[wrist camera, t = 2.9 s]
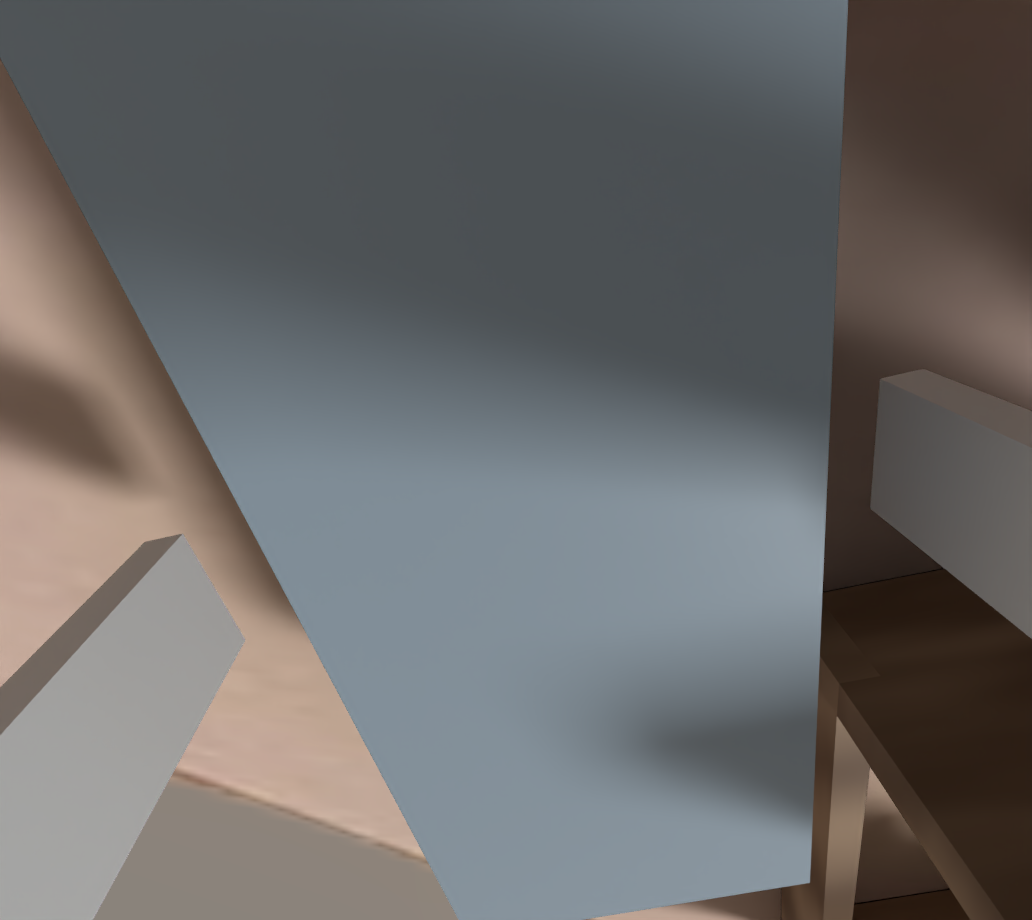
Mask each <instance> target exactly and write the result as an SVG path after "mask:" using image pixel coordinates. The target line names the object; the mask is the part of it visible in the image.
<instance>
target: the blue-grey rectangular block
mask: <svg viewBox="0 0 1032 920" xmlns="http://www.w3.org/2000/svg"><path fill="white" fill-rule="evenodd" d="M847 16H848V0H0V59H1V61H2V62H3V64H4V66H5V68H6V70H7V72H8V74H9V76H10V78H11V79H12V81H13V83H14V85H15V87H16V89H17V91H18V93H19V94H20V96H21V98H22V100H23V102H24V104H25V106H26V108H27V109H28V111H29V113H30V115H31V117H32V119H33V121H34V123H35V124H36V126H37V128H38V130H39V132H40V134H41V136H42V138H43V140H44V141H45V143H46V145H47V147H48V149H49V151H50V153H51V155H52V156H53V158H54V160H55V162H56V164H57V166H58V168H59V170H60V171H61V173H62V175H63V177H64V179H65V181H66V183H67V185H68V187H69V188H70V190H71V192H72V194H73V196H74V198H75V200H76V202H77V203H78V205H79V207H80V209H81V211H82V213H83V215H84V217H85V218H86V220H87V222H88V224H89V226H90V228H91V230H92V232H93V233H94V235H95V237H96V239H97V241H98V243H99V245H100V247H101V249H102V250H103V252H104V254H105V256H106V258H107V260H108V262H109V264H110V265H111V267H112V269H113V271H114V273H115V275H116V277H117V279H118V280H119V282H120V284H121V286H122V288H123V290H124V292H125V294H126V296H127V297H128V299H129V301H130V303H131V305H132V307H133V309H134V311H135V312H136V314H137V316H138V318H139V320H140V322H141V324H142V326H143V327H144V329H145V331H146V333H147V335H148V337H149V339H150V341H151V342H152V344H153V346H154V348H155V350H156V352H157V354H158V356H159V358H160V359H161V361H162V363H163V365H164V367H165V369H166V371H167V373H168V374H169V376H170V378H171V380H172V382H173V384H174V386H175V388H176V389H177V391H178V393H179V395H180V397H181V399H182V401H183V403H184V405H185V406H186V408H187V410H188V412H189V414H190V416H191V418H192V420H193V421H194V423H195V425H196V427H197V429H198V431H199V433H200V435H201V436H202V438H203V440H204V442H205V444H206V446H207V448H208V450H209V451H210V453H211V455H212V457H213V459H214V461H215V463H216V465H217V467H218V468H219V470H220V472H221V474H222V476H223V478H224V480H225V482H226V483H227V485H228V487H229V489H230V491H231V493H232V495H233V497H234V498H235V500H236V502H237V504H238V506H239V508H240V510H241V512H242V514H243V515H244V517H245V519H246V521H247V523H248V525H249V527H250V529H251V530H252V532H253V534H254V536H255V538H256V540H257V542H258V544H259V545H260V547H261V549H262V551H263V553H264V555H265V557H266V559H267V560H268V562H269V564H270V566H271V568H272V570H273V572H274V574H275V576H276V577H277V579H278V581H279V583H280V585H281V587H282V589H283V591H284V592H285V594H286V596H287V598H288V600H289V602H290V604H291V606H292V607H293V609H294V611H295V613H296V615H297V617H298V619H299V621H300V622H301V624H302V626H303V628H304V630H305V632H306V634H307V636H308V638H309V639H310V641H311V643H312V645H313V647H314V649H315V651H316V653H317V654H318V656H319V658H320V660H321V662H322V664H323V666H324V668H325V669H326V671H327V673H328V675H329V677H330V679H331V681H332V683H333V685H334V686H335V688H336V690H337V692H338V694H339V696H340V698H341V700H342V701H343V703H344V705H345V707H346V709H347V711H348V713H349V715H350V716H351V718H352V720H353V722H354V724H355V726H356V728H357V730H358V731H359V733H360V735H361V737H362V739H363V741H364V743H365V745H366V747H367V748H368V750H369V752H370V754H371V756H372V758H373V760H374V762H375V763H376V765H377V767H378V769H379V771H380V773H381V775H382V777H383V778H384V780H385V782H386V784H387V786H388V788H389V790H390V792H391V794H392V795H393V797H394V799H395V801H396V803H397V805H398V807H399V809H400V810H401V812H402V814H403V816H404V818H405V820H406V822H407V824H408V825H409V827H410V829H411V831H412V833H413V835H414V837H415V839H416V840H417V842H418V844H419V846H420V848H421V850H422V852H423V854H424V856H425V857H426V859H427V861H428V863H429V865H430V867H431V869H432V871H433V872H434V874H435V876H436V878H437V880H438V882H439V884H440V886H441V887H442V889H443V891H444V893H445V895H446V897H447V899H448V901H449V902H450V904H451V906H452V908H453V910H454V912H455V914H456V915H457V918H458V919H459V920H583V919H590V918H596V917H602V916H608V915H614V914H620V913H627V912H633V911H639V910H645V909H651V908H657V907H664V906H670V905H676V904H682V903H688V902H695V901H701V900H707V899H713V898H719V897H725V896H732V895H738V894H744V893H750V892H756V891H763V890H769V889H775V888H781V887H787V886H793V885H800V884H806V883H810V869H811V846H812V823H813V800H814V777H815V754H816V731H817V708H818V685H819V662H820V639H821V616H822V593H823V570H824V547H825V523H826V500H827V477H828V454H829V431H830V408H831V385H832V362H833V339H834V316H835V293H836V270H837V247H838V224H839V201H840V178H841V155H842V132H843V108H844V85H845V62H846V39H847Z"/></svg>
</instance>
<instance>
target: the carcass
mask: <svg viewBox="0 0 1032 920" xmlns="http://www.w3.org/2000/svg"><path fill="white" fill-rule="evenodd" d="M870 767H871V769H872V770H873V772H874V773H875V775H876V776H877V778H878V779H879V781H880V782H881V784H882V786H883V787H884V789H885V790H886V792H887V793H888V795H889V796H890V798H891V799H892V801H893V802H894V804H895V805H896V807H897V808H898V810H899V812H900V813H901V815H902V816H903V818H904V819H905V821H906V822H907V824H908V825H909V827H910V828H911V830H912V831H913V833H914V834H915V836H916V838H917V839H918V841H919V842H920V844H921V845H922V847H923V848H924V850H925V851H926V853H927V854H928V856H929V857H930V859H931V860H932V862H933V864H934V865H935V867H936V868H937V870H938V871H939V873H940V874H941V876H942V877H943V879H944V880H945V882H946V883H947V885H948V886H949V888H950V890H944V891H938V892H932V893H926V894H919V895H913V896H907V897H900V898H894V899H888V900H881V901H875V902H869V903H863V904H856V905H854V900H855V892H856V883H857V874H858V866H859V857H860V848H861V840H862V831H863V822H864V814H865V805H866V796H867V788H868V779H869V771H870ZM781 920H1032V639H1031V638H1030V637H1029V636H1027V635H1026V634H1025V633H1024V632H1022V631H1021V630H1020V629H1019V628H1018V627H1016V626H1015V625H1014V624H1013V623H1011V622H1010V621H1009V620H1008V619H1006V618H1005V617H1004V616H1003V615H1001V614H1000V613H999V612H998V611H997V610H995V609H994V608H993V607H992V606H990V605H989V604H988V603H987V602H985V601H984V600H983V599H982V598H980V597H979V596H978V595H977V594H975V593H974V592H973V591H972V590H971V589H969V588H968V587H967V586H966V585H964V584H963V583H962V582H961V581H959V580H958V579H957V578H956V577H954V576H953V575H952V574H951V573H949V572H948V571H947V570H946V569H942V570H937V571H932V572H927V573H921V574H916V575H911V576H906V577H901V578H896V579H891V580H885V581H880V582H875V583H870V584H865V585H860V586H855V587H849V588H844V589H839V590H834V591H829V592H824V593H822V616H821V639H820V662H819V685H818V708H817V731H816V754H815V777H814V800H813V823H812V846H811V869H810V883H806V884H800V885H793V886H787V887H781Z"/></svg>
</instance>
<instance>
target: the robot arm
mask: <svg viewBox="0 0 1032 920" xmlns="http://www.w3.org/2000/svg"><path fill="white" fill-rule="evenodd" d="M870 509H871V510H873V511H874V512H875V513H876V514H878V515H879V516H880V517H881V518H883V519H884V520H885V521H886V522H888V523H889V524H890V525H891V526H893V527H894V528H895V529H896V530H897V531H899V532H900V533H901V534H902V535H904V536H905V537H906V538H907V539H909V540H910V541H911V542H912V543H914V544H915V545H916V546H917V547H919V548H920V549H921V550H922V551H923V552H925V553H926V554H927V555H928V556H930V557H931V558H932V559H933V560H935V561H936V562H937V563H938V564H940V565H941V566H942V567H943V568H945V569H946V570H947V571H948V572H949V573H951V574H952V575H953V576H954V577H956V578H957V579H958V580H959V581H961V582H962V583H963V584H964V585H966V586H967V587H968V588H969V589H971V590H972V591H973V592H974V593H975V594H977V595H978V596H979V597H980V598H982V599H983V600H984V601H985V602H987V603H988V604H989V605H990V606H992V607H993V608H994V609H995V610H997V611H998V612H999V613H1000V614H1001V615H1003V616H1004V617H1005V618H1006V619H1008V620H1009V621H1010V622H1011V623H1013V624H1014V625H1015V626H1016V627H1018V628H1019V629H1020V630H1021V631H1022V632H1024V633H1025V634H1026V635H1027V636H1029V637H1030V638H1031V639H1032V411H1031V410H1028V409H1026V408H1023V407H1020V406H1018V405H1015V404H1013V403H1010V402H1008V401H1005V400H1002V399H1000V398H997V397H995V396H992V395H990V394H987V393H984V392H982V391H979V390H977V389H974V388H972V387H969V386H966V385H964V384H961V383H959V382H956V381H954V380H951V379H949V378H946V377H943V376H941V375H938V374H936V373H933V372H931V371H928V370H925V369H921V370H916V371H912V372H907V373H903V374H898V375H894V376H889V377H885V378H880V385H879V398H878V412H877V425H876V438H875V451H874V464H873V477H872V491H871V504H870ZM244 642H245V638H244V637H243V635H242V633H241V631H240V630H239V628H238V626H237V625H236V623H235V621H234V620H233V618H232V616H231V614H230V613H229V611H228V609H227V608H226V606H225V604H224V603H223V601H222V599H221V598H220V596H219V594H218V592H217V591H216V589H215V587H214V586H213V584H212V582H211V581H210V579H209V577H208V575H207V574H206V572H205V570H204V569H203V567H202V565H201V564H200V562H199V560H198V558H197V557H196V555H195V553H194V552H193V550H192V548H191V547H190V545H189V543H188V542H187V540H186V538H185V536H184V535H183V534H179V535H174V536H170V537H165V538H161V539H156V540H152V541H147V542H144V543H143V544H142V545H141V546H140V547H139V548H138V550H137V551H136V552H135V553H134V554H133V555H132V556H131V557H130V558H129V559H128V560H127V561H126V562H125V563H124V564H123V565H122V566H121V567H120V568H119V569H118V570H117V571H116V572H115V573H114V574H113V575H112V576H111V577H110V578H109V579H108V580H107V581H106V582H105V583H104V584H103V585H102V586H101V587H100V588H99V589H98V590H97V591H96V592H95V593H94V594H93V595H92V596H91V597H90V598H89V599H88V600H87V601H86V602H85V603H84V604H83V605H82V606H81V607H80V608H79V609H78V610H77V611H76V612H75V613H74V614H73V615H72V616H71V617H70V618H69V619H68V620H67V621H66V622H65V623H64V624H63V625H62V626H61V627H60V628H59V629H58V630H57V631H56V632H55V633H54V634H53V635H52V636H51V637H50V638H49V639H48V640H47V641H46V642H45V643H44V644H43V645H42V646H41V647H40V648H39V649H38V650H37V651H36V652H35V653H34V654H33V655H32V656H31V657H30V658H29V659H28V660H27V661H26V662H25V663H24V664H23V665H22V666H21V667H20V668H19V669H18V670H17V671H16V672H15V673H14V674H13V675H12V676H11V677H10V678H9V679H8V680H7V681H6V682H5V683H4V684H3V685H2V686H1V687H0V920H93V919H94V917H95V915H96V913H97V911H98V909H99V907H100V906H101V904H102V902H103V900H104V898H105V897H106V895H107V893H108V891H109V889H110V887H111V886H112V884H113V882H114V880H115V878H116V876H117V875H118V873H119V871H120V869H121V867H122V865H123V864H124V862H125V860H126V858H127V856H128V854H129V852H130V850H131V849H132V847H133V845H134V843H135V841H136V839H137V838H138V836H139V834H140V832H141V831H142V829H143V827H144V825H145V823H146V821H147V820H148V818H149V816H150V814H151V812H152V810H153V808H154V807H155V805H156V803H157V801H158V799H159V798H160V796H161V794H162V792H163V790H164V788H165V787H166V785H167V783H168V781H169V779H170V777H171V776H172V774H173V772H174V770H175V768H176V766H177V765H178V763H179V761H180V759H181V757H182V755H183V754H184V752H185V750H186V748H187V746H188V744H189V743H190V741H191V739H192V737H193V735H194V733H195V732H196V730H197V728H198V726H199V724H200V722H201V721H202V719H203V717H204V715H205V713H206V711H207V710H208V708H209V706H210V704H211V702H212V700H213V699H214V697H215V695H216V693H217V691H218V689H219V688H220V686H221V684H222V682H223V680H224V678H225V677H226V675H227V673H228V671H229V669H230V667H231V666H232V664H233V662H234V660H235V658H236V656H237V655H238V653H239V651H240V649H241V647H242V645H243V644H244Z"/></svg>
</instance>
